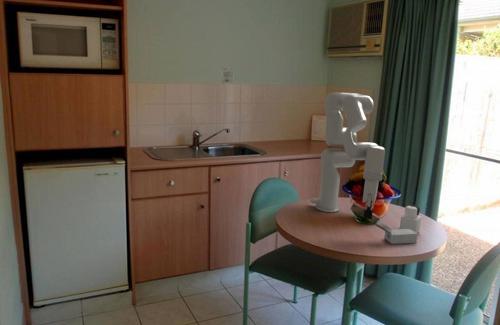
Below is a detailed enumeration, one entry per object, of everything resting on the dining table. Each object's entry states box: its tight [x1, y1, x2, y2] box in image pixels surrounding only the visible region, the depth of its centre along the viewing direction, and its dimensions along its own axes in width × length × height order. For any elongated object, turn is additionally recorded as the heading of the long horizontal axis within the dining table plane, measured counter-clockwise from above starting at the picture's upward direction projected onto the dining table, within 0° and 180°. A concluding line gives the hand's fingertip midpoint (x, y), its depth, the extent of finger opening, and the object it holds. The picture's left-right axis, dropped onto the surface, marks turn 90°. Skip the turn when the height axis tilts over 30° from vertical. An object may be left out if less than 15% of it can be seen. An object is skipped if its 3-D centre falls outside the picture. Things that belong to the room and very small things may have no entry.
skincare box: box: [384, 228, 418, 245], centre depth 182 cm, size 6×4×12 cm
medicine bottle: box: [399, 204, 422, 234], centre depth 193 cm, size 7×7×12 cm
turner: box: [350, 201, 393, 234], centre depth 180 cm, size 19×5×3 cm, turn 71°
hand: (367, 217), depth 181 cm, fingers closed on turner, 2 cm apart
